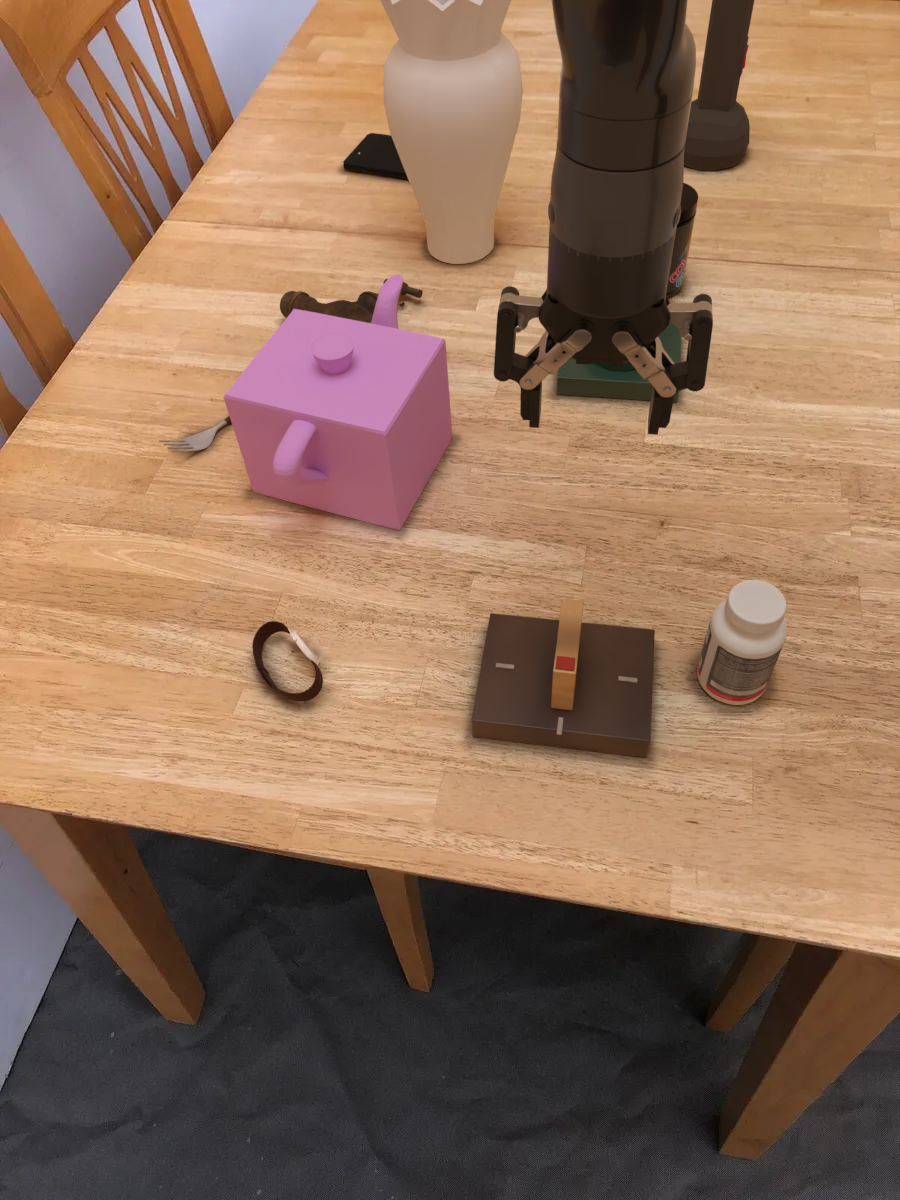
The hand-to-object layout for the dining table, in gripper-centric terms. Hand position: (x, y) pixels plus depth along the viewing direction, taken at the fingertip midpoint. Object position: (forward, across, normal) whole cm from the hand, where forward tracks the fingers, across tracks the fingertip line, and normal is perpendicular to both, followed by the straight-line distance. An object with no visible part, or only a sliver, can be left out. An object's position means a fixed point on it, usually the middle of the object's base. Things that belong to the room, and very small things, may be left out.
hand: (593, 423), depth 68 cm
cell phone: (+16, +26, -67) cm, 74 cm away
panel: (+16, 0, +13) cm, 21 cm away
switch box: (+16, -2, -27) cm, 31 cm away
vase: (+16, +17, -48) cm, 53 cm away
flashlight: (+16, -12, -71) cm, 74 cm away
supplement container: (+16, -6, -42) cm, 45 cm away
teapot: (+16, +22, -11) cm, 29 cm away
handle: (+13, 0, +13) cm, 19 cm away
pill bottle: (+16, -12, +11) cm, 23 cm away
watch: (+16, +22, +14) cm, 31 cm away
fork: (+16, +36, -15) cm, 42 cm away
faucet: (+16, +25, -31) cm, 43 cm away
